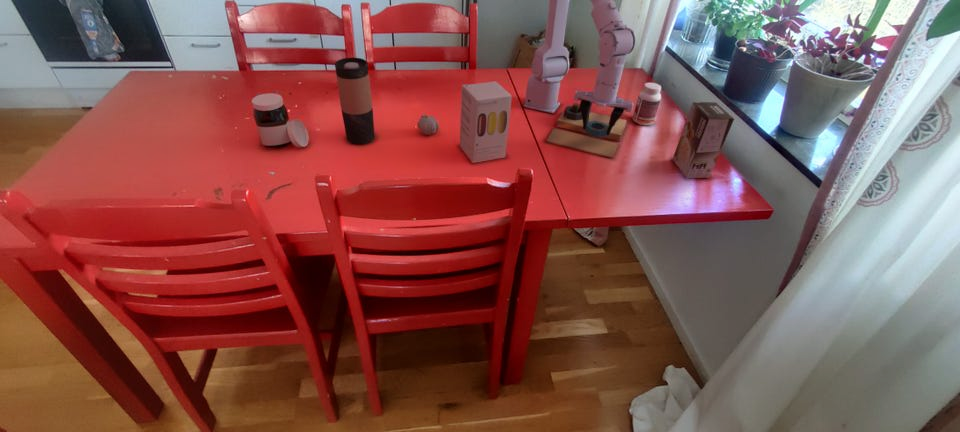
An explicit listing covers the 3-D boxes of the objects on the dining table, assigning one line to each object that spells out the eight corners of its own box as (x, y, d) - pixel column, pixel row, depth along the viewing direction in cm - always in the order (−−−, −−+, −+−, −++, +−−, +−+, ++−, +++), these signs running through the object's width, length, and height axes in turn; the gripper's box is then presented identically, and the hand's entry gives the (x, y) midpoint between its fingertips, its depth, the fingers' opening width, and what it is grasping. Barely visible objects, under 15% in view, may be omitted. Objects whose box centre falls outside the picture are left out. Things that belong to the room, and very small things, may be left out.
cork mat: (545, 141, 124) (545, 140, 123) (554, 129, 129) (554, 128, 129) (612, 158, 119) (612, 157, 118) (617, 144, 124) (618, 143, 124)
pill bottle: (657, 123, 136) (669, 87, 129) (643, 127, 133) (654, 91, 126) (641, 114, 140) (651, 79, 133) (627, 119, 137) (637, 83, 130)
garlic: (413, 134, 123) (412, 117, 120) (422, 126, 127) (421, 109, 124) (433, 139, 122) (433, 121, 118) (442, 130, 126) (442, 113, 122)
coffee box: (710, 178, 113) (736, 119, 103) (685, 178, 113) (709, 119, 103) (694, 158, 121) (716, 101, 110) (670, 158, 120) (691, 101, 110)
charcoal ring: (561, 117, 131) (562, 111, 130) (567, 109, 135) (568, 104, 134) (580, 122, 129) (582, 116, 128) (585, 114, 134) (586, 108, 132)
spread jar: (260, 135, 119) (248, 92, 112) (306, 128, 123) (297, 87, 116) (263, 158, 111) (250, 114, 103) (312, 150, 114) (303, 107, 107)
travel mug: (380, 134, 122) (373, 60, 110) (366, 148, 117) (356, 71, 104) (355, 128, 124) (345, 55, 112) (340, 141, 118) (327, 65, 106)
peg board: (556, 126, 131) (559, 108, 127) (565, 112, 138) (568, 95, 135) (619, 141, 126) (624, 123, 122) (625, 126, 133) (630, 109, 130)
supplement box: (472, 164, 113) (475, 100, 103) (458, 146, 120) (459, 84, 109) (506, 157, 116) (513, 95, 106) (491, 140, 123) (496, 79, 112)
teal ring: (583, 134, 119) (584, 127, 118) (588, 125, 123) (589, 119, 122) (604, 139, 118) (606, 133, 116) (608, 130, 122) (610, 124, 121)
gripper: (574, 80, 111) (565, 130, 119) (635, 93, 107) (621, 144, 115) (581, 70, 116) (572, 119, 125) (639, 82, 112) (626, 132, 120)
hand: (596, 130), depth 120 cm, fingers closed on teal ring, 5 cm apart
